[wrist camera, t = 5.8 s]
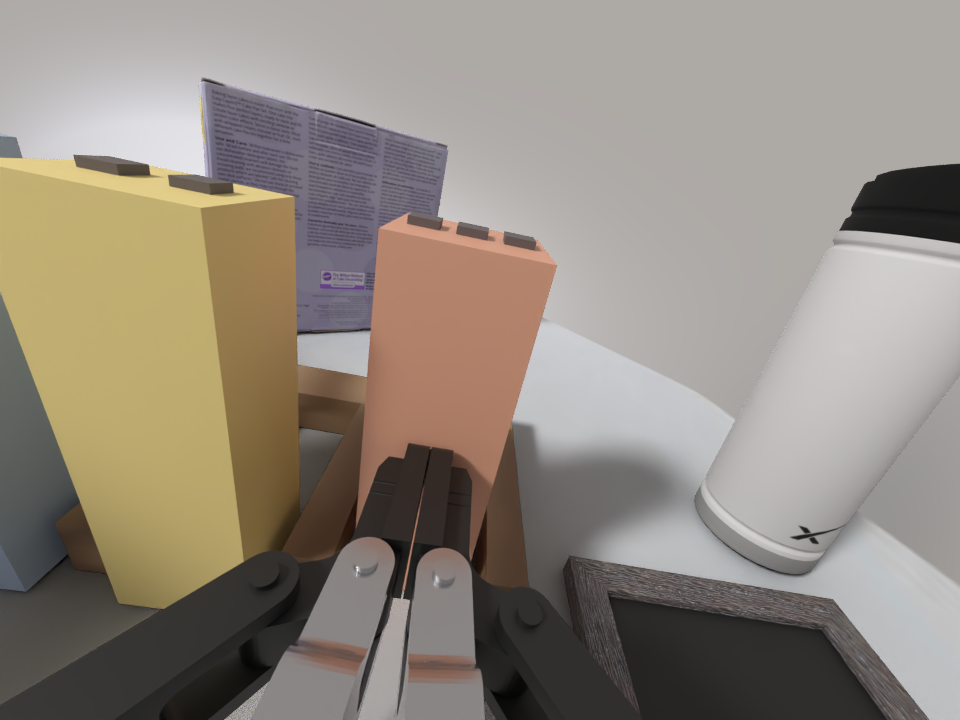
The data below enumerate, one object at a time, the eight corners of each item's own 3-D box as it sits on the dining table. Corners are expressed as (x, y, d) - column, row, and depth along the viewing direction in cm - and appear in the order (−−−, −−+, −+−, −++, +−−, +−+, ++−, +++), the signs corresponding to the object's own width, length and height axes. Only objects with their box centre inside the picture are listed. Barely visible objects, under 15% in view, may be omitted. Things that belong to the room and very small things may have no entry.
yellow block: (118, 603, 13) (-58, 141, 7) (201, 506, 17) (137, 153, 11) (251, 620, 13) (199, 195, 7) (302, 521, 17) (298, 187, 11)
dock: (-146, 540, 13) (-187, 489, 12) (146, 370, 25) (138, 336, 24) (513, 627, 15) (529, 590, 14) (501, 431, 27) (509, 402, 26)
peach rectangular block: (351, 582, 15) (379, 217, 9) (378, 501, 19) (410, 204, 13) (460, 597, 16) (559, 255, 9) (465, 514, 19) (538, 231, 13)
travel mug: (822, 606, 18) (1199, 150, 11) (682, 522, 22) (892, 135, 14) (817, 538, 23) (1077, 186, 16) (702, 478, 27) (868, 168, 19)
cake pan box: (414, 310, 44) (435, 141, 37) (433, 327, 41) (462, 144, 33) (217, 315, 34) (189, 76, 26) (220, 340, 30) (189, 72, 22)
